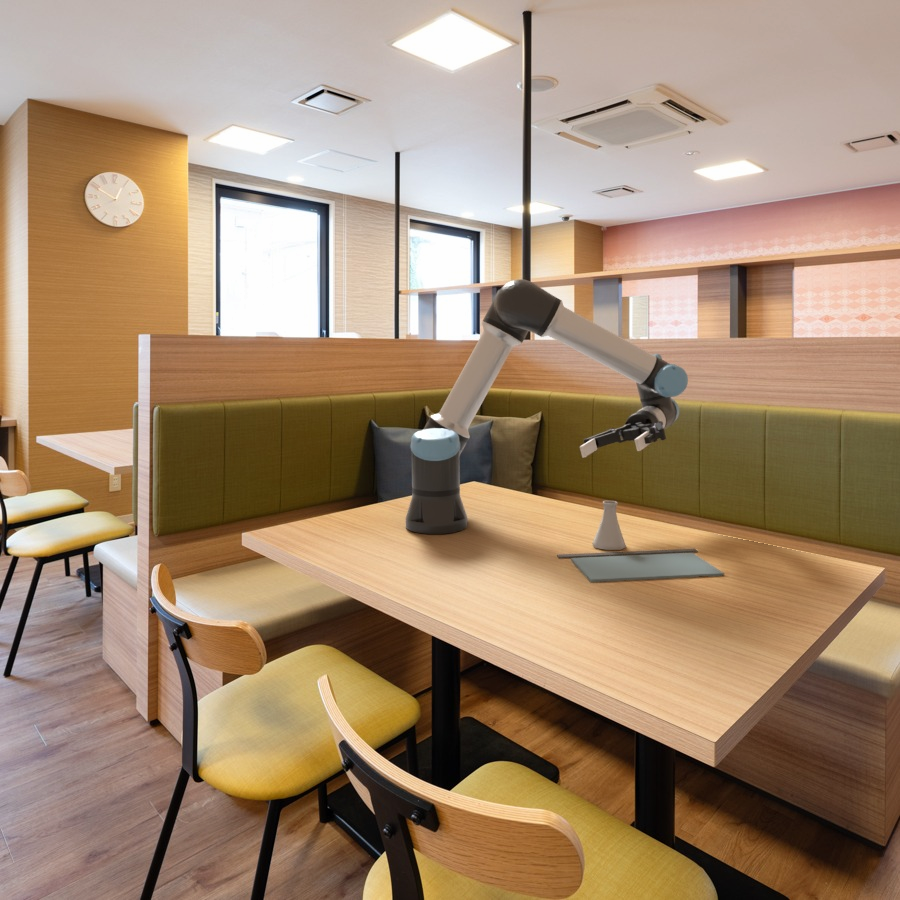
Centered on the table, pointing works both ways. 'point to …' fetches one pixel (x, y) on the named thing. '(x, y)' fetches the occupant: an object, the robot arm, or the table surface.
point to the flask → (609, 529)
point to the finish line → (626, 553)
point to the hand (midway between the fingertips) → (608, 448)
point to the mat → (644, 567)
